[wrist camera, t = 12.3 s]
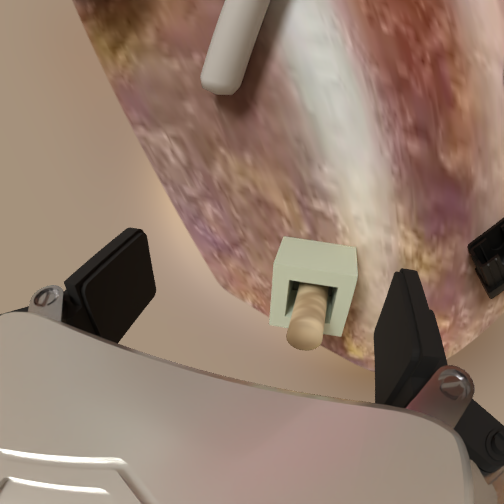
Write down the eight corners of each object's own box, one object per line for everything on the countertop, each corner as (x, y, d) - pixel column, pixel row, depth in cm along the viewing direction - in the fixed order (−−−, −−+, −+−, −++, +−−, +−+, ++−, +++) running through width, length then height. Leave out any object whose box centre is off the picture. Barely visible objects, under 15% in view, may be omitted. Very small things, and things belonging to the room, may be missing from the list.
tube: (238, 103, 31) (305, -76, 17) (191, 92, 30) (258, -89, 16) (238, 97, 35) (297, -62, 21) (197, 87, 34) (255, -73, 20)
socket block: (355, 247, 40) (357, 276, 34) (342, 304, 45) (341, 336, 39) (283, 236, 42) (273, 263, 36) (278, 294, 47) (268, 324, 41)
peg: (332, 267, 41) (325, 329, 31) (326, 290, 43) (318, 353, 33) (303, 262, 42) (288, 322, 32) (299, 285, 44) (284, 346, 34)
